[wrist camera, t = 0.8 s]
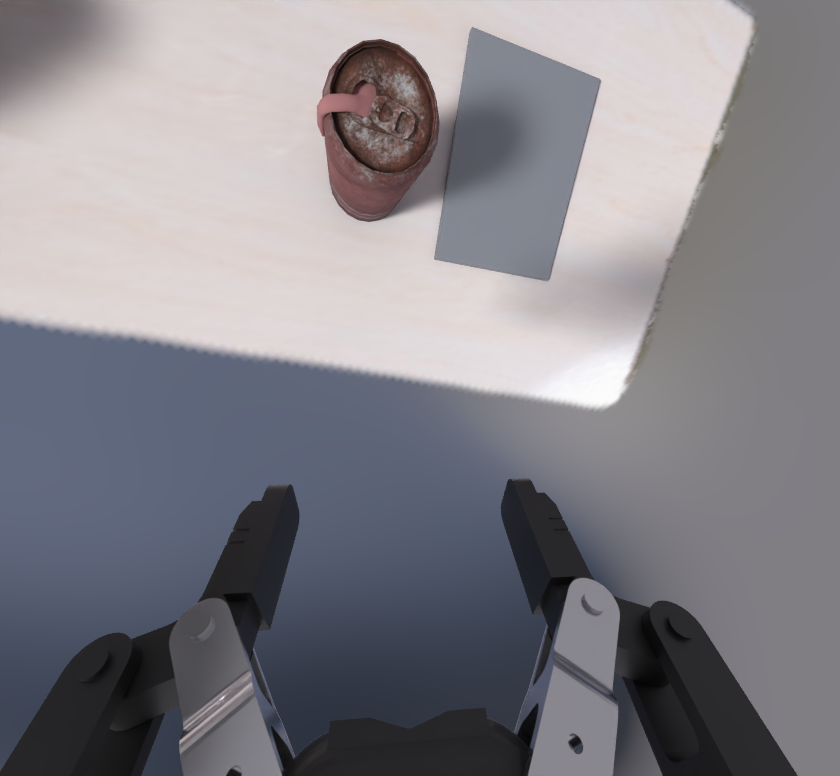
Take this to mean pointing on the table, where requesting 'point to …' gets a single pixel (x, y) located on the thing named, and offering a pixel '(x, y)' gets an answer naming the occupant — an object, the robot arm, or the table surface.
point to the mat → (512, 158)
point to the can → (376, 126)
